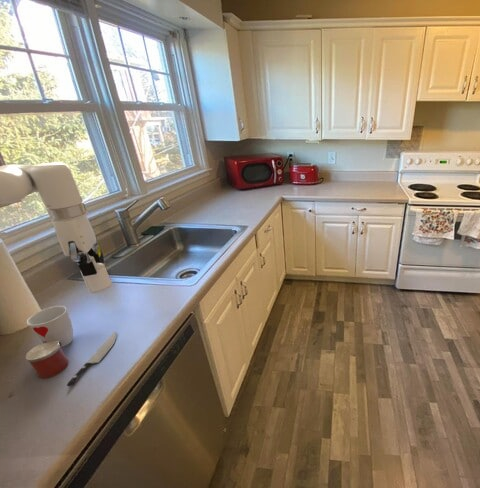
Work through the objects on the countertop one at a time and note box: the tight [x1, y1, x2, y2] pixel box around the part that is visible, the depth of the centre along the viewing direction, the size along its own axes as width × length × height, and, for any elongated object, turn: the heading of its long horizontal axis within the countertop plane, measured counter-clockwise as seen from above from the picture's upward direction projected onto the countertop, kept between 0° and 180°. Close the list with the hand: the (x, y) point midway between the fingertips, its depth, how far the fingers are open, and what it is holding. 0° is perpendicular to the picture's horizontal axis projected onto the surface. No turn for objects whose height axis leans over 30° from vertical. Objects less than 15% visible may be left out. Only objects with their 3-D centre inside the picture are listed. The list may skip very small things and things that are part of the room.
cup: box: [26, 305, 74, 348], centre depth 79 cm, size 8×8×10 cm
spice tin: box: [25, 341, 69, 379], centre depth 72 cm, size 6×6×7 cm
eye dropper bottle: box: [80, 254, 113, 295], centre depth 82 cm, size 4×6×12 cm
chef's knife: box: [66, 331, 117, 387], centre depth 76 cm, size 19×1×3 cm
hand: (93, 269), depth 82 cm, fingers closed on eye dropper bottle, 4 cm apart
